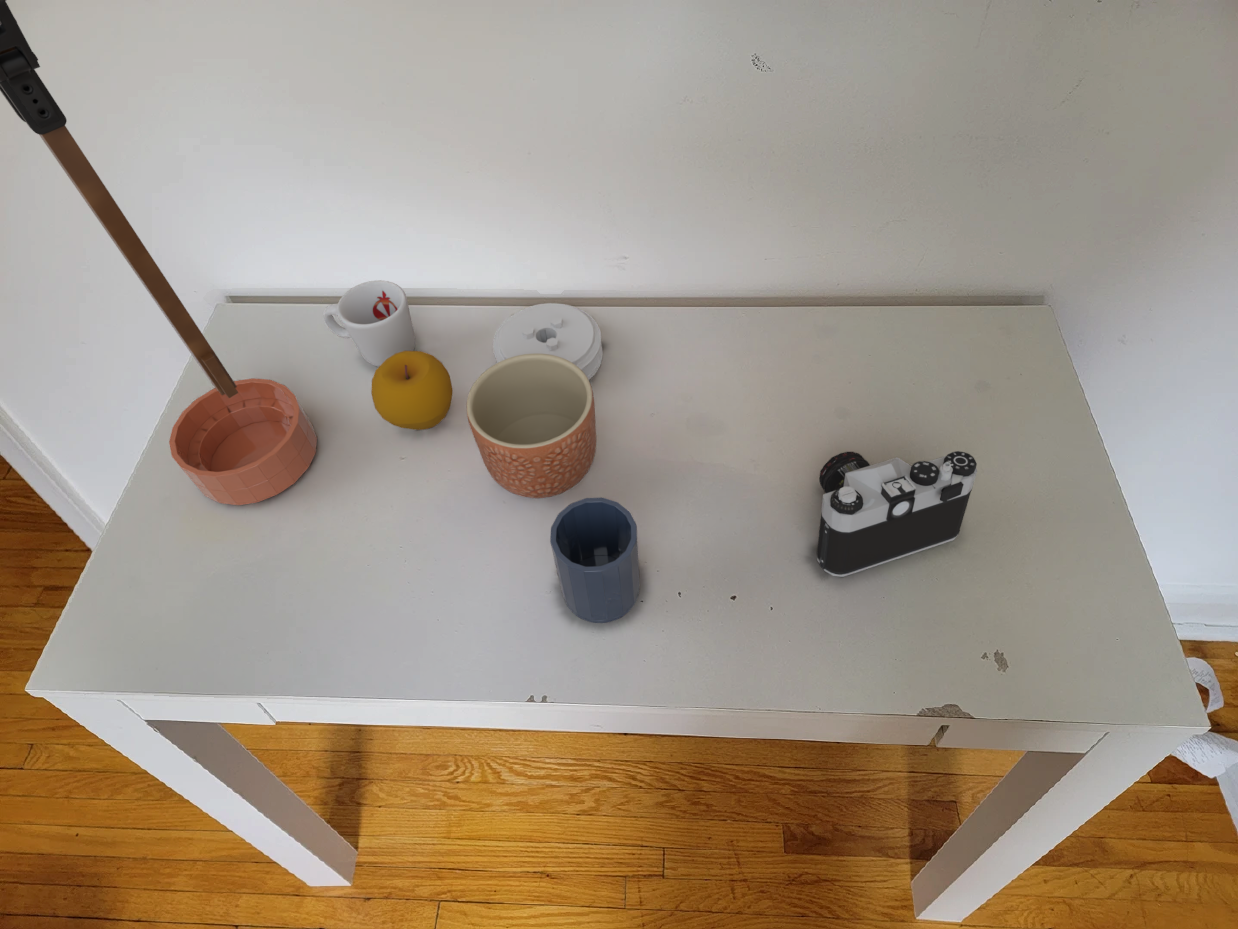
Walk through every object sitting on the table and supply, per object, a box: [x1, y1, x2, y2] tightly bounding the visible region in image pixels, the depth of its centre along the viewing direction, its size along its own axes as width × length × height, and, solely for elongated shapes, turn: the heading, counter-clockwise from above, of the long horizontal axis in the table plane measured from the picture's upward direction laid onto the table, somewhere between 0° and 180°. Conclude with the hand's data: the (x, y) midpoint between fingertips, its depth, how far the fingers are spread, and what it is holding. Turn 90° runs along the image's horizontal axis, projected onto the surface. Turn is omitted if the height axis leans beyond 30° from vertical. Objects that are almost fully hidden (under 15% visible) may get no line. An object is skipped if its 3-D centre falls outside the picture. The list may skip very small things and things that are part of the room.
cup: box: [322, 279, 416, 367], centre depth 91 cm, size 11×8×8 cm
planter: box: [466, 353, 597, 499], centre depth 78 cm, size 12×12×11 cm
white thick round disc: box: [492, 302, 604, 381], centre depth 90 cm, size 13×13×5 cm
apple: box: [370, 350, 454, 431], centre depth 84 cm, size 9×8×9 cm
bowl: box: [168, 377, 318, 506], centre depth 83 cm, size 13×13×6 cm
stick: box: [0, 48, 238, 398], centre depth 61 cm, size 2×3×32 cm, turn 45°
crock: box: [549, 496, 641, 624], centre depth 70 cm, size 7×7×10 cm
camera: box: [816, 450, 978, 578], centre depth 73 cm, size 15×11×10 cm
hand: (45, 121), depth 53 cm, fingers closed on stick, 1 cm apart
